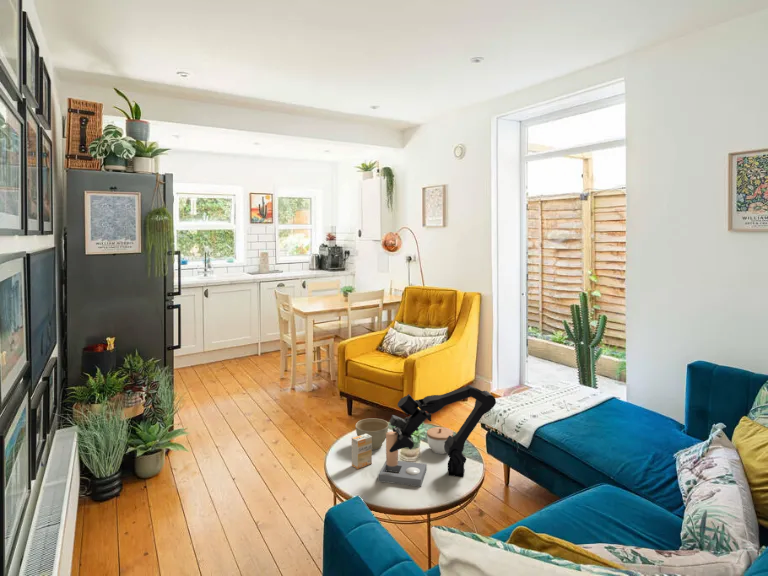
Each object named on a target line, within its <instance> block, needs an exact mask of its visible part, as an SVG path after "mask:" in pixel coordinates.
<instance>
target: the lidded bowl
mask: <svg viewBox="0 0 768 576" xmlns="http://www.w3.org/2000/svg"><path fill="white" fill-rule="evenodd" d="M449 435H450V436H451V437H453V436H454V431H453V430H452V429H450V428H447V427H442V426H436V427H430V428H428V429H427V431H426V441H427V445H428V447H429V449H431V450H432V452H433V453H435V454H439V455H444V454H447V453H446V452H445V450H444V445H445V443H444V442H445V441H446V440H447V439H448V437H449Z"/></svg>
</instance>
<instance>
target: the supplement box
mask: <svg viewBox="0 0 768 576" xmlns="http://www.w3.org/2000/svg"><path fill="white" fill-rule="evenodd" d="M372 456H373V449H372V436H370V435H368V434H363V435H360V436H357V435H356V436H354V437H351V466H352V467H353V468H355V469H357V470H359V469H361V468H364V467H366V466H369V465H372V464H373V462H372V461H373V457H372Z"/></svg>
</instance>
